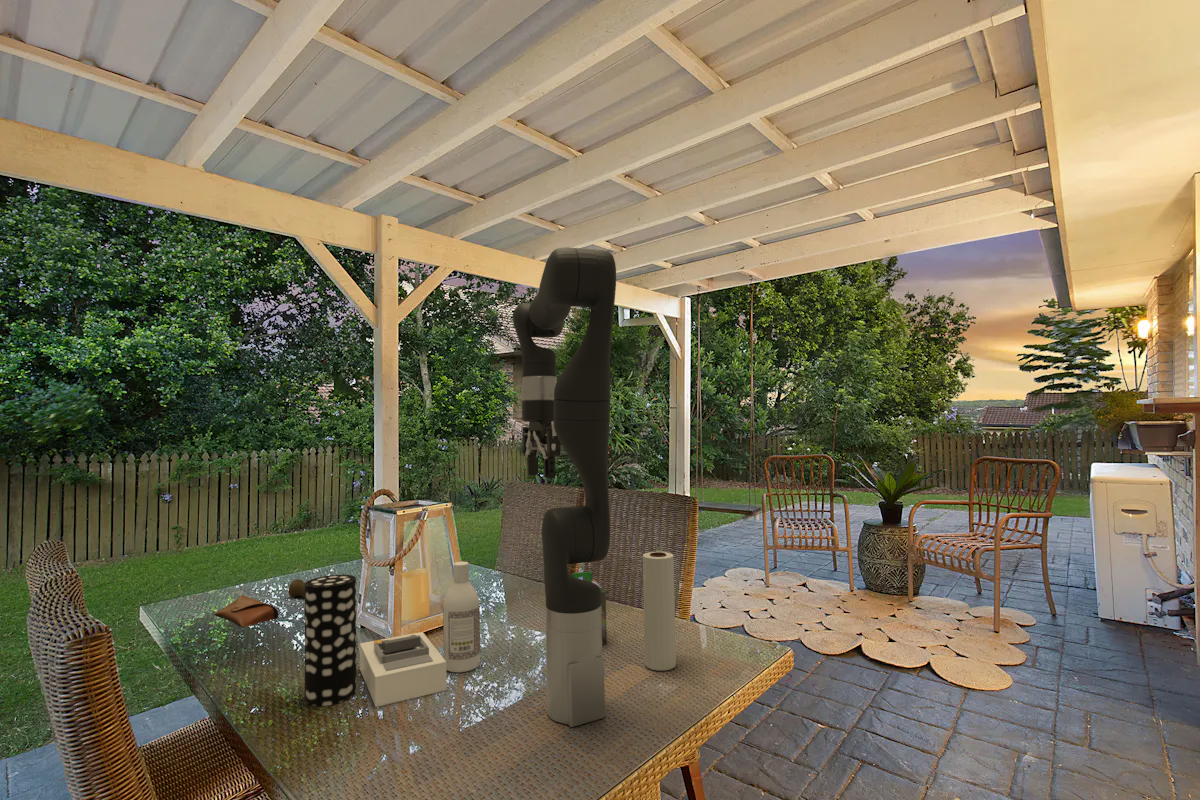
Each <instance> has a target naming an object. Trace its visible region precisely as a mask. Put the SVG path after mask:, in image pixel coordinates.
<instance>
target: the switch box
mask: <svg viewBox="0 0 1200 800" xmlns="http://www.w3.org/2000/svg"><path fill="white" fill-rule="evenodd" d="M411 635H416V636H419V637H420V640H421V646H419V647H414V648H409V649H404V650H399V651H394V652H389V653H386V652H385V651H383V650H382V641H384V640H389V639H394V638H400V637H405V636H411ZM359 670H360V672H361V675H362V677H363V680H364V682H365V685H366V687H367V690H368V692H369V695H370V697H371V700H372V702H373V704H374V706H375V708H378V707H382V706H386V705H390V704H394V703H395V704H396V703H399V702H403V701H407V700H412V699H416V698H420V697H424V696H428V695H432V694H433V695H434V694H436V693H441V692H444V691H445V692H446V691H448V688H447V687H448V686H447V685H448V684H447V683H448V682H447V670H446V661H445V659H444V656H442V655H441V653H440V652H439V651H438V650H437V647H436V646H434V644H433V643H432V642H431V641H430V639H429V638H428V637H427V636H426V634H425V633H424V632H423V631H421V632H415V633H409V634H404V635H398V636H392V637H388V638H383V639H376V640H371V641H366V642H360V643H359Z"/></svg>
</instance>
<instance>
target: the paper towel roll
mask: <svg viewBox="0 0 1200 800" xmlns="http://www.w3.org/2000/svg"><path fill="white" fill-rule="evenodd" d="M642 577H643V578H642V584H643V585H642V586H643V623H644V624H643V627H644V628H643V631H644V634H643V636H644V637H643V638H644V642H643V643H644V665H645V667H646V668H647V669H649V670H652V671H657V672H658V671H662V672H663V671H669V670H672V669H674V668H675V667H676V665H677V658H676V657H677V654H676V611H675V610H676V606H675V605H676V604H675V601H676V599H675V562H674V554H673V553H671V552H667V551H662V550H659V549H655V551H651V552H650V551H649V552H645V553H643V554H642Z"/></svg>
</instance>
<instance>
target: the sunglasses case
mask: <svg viewBox="0 0 1200 800" xmlns="http://www.w3.org/2000/svg"><path fill="white" fill-rule="evenodd" d="M213 616H215V617H221V618H222V619H225V620H228V621H230V622H232V623H234V624H237V625H239V626H240V627H242V628H246V627H250V626H252V625H257V624H260V623H264V622H265V623H266V622H269V621H272V620H277V619H278V617H279V610H278V609H277V608H276V607H275V606H274V605H271V604H269V603H266V602H262V601H260V600H257V599H255V598H251V597H248V596H246V595H244V594H241V595H240V597H237V599H235V600H234V601H232V602H231V603H229V604H227V605H226V606H224V607H222V608H221V609H219V610H218V611H216V612H215V613H213Z"/></svg>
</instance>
